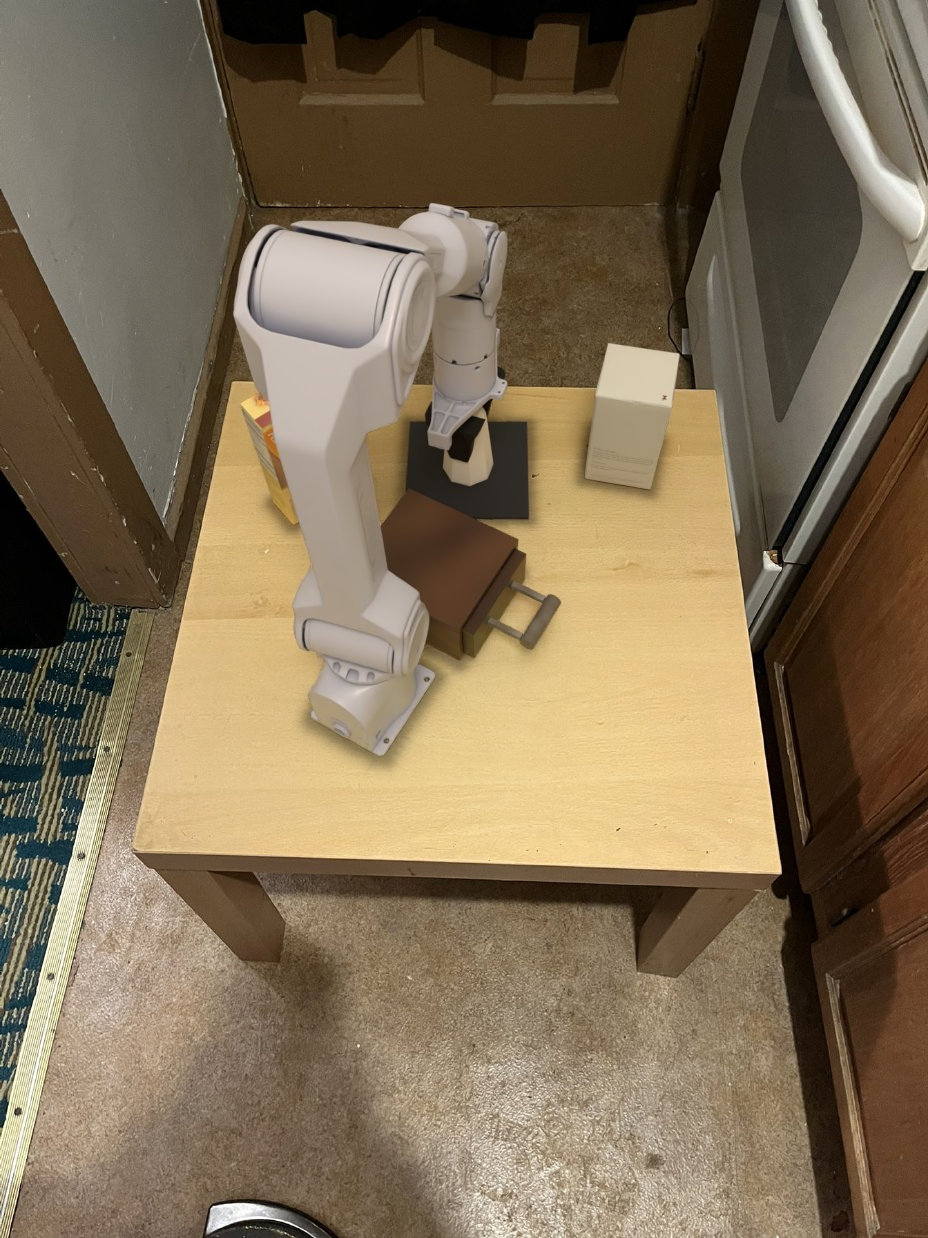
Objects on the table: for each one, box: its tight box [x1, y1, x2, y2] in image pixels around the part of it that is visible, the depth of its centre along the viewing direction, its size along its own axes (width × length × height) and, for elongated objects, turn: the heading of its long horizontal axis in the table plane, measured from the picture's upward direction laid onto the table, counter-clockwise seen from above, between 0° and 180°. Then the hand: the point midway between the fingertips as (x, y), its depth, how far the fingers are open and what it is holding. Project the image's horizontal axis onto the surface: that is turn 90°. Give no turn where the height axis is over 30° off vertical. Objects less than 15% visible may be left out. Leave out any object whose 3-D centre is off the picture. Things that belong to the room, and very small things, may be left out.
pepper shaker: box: [443, 407, 493, 486], centre depth 88 cm, size 5×5×11 cm
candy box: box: [239, 392, 299, 526], centre depth 85 cm, size 9×4×15 cm, turn 129°
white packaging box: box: [584, 342, 681, 491], centre depth 88 cm, size 7×7×13 cm
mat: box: [404, 420, 530, 520], centre depth 93 cm, size 13×13×1 cm
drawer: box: [462, 548, 562, 658], centre depth 82 cm, size 16×10×5 cm, turn 60°
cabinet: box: [380, 489, 519, 661], centre depth 83 cm, size 12×11×6 cm
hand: (466, 442), depth 90 cm, fingers closed on pepper shaker, 3 cm apart
